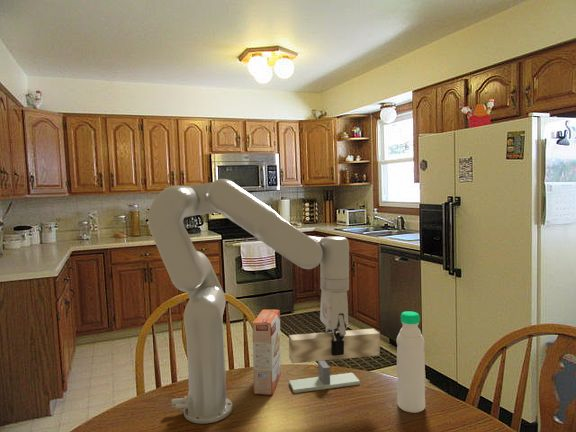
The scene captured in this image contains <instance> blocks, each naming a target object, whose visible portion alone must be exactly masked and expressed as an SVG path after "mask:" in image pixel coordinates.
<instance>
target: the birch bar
mask: <svg viewBox="0 0 576 432" xmlns="http://www.w3.org/2000/svg"><path fill="white" fill-rule="evenodd" d="M337 332H339V331H336V334H337ZM380 337H381V334H380V332H379V331H377V330H376V328H363V329H353V330H352V329H350V330H346V335H345V336H344V354H343V355H336V356H333V355H332V340H333V333H332V332H326V331H324V332H314V333H313V332H312V333H311V332H310V333H299V334H289V335H288V359H289V361H290V362H291V363H292V364H299V363H301V364H302V363H312V362H318V361H331V360H332V361H333V360H343V359H353V358H355V359H356V358H366V357H367V358H368V357H375V356H376V357H377V356H380V354H381V353H380V352H381V351H380V349H381V346H380V345H381V342H380V341H381V338H380Z"/></svg>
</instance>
